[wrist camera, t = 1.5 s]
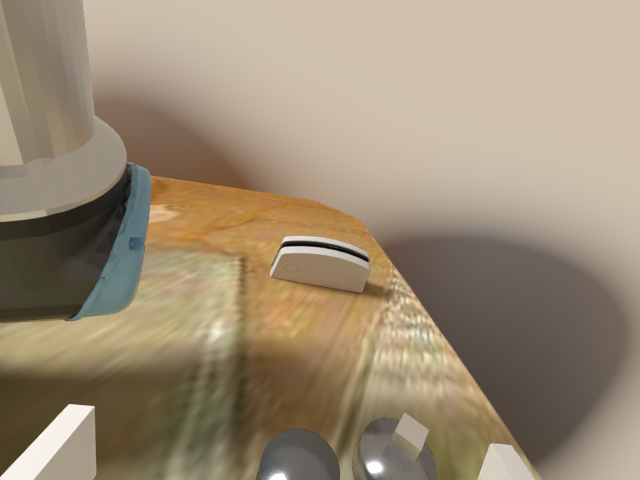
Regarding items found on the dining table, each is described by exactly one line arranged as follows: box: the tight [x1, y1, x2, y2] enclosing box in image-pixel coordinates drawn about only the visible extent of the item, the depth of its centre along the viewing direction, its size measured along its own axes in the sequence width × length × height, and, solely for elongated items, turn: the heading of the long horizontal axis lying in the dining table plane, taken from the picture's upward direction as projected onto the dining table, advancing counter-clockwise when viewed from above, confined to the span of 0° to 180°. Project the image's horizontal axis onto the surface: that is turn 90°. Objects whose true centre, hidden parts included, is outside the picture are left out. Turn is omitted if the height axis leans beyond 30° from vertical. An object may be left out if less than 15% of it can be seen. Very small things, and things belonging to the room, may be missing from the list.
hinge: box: [270, 236, 370, 293], centre depth 56 cm, size 17×5×10 cm, turn 93°
